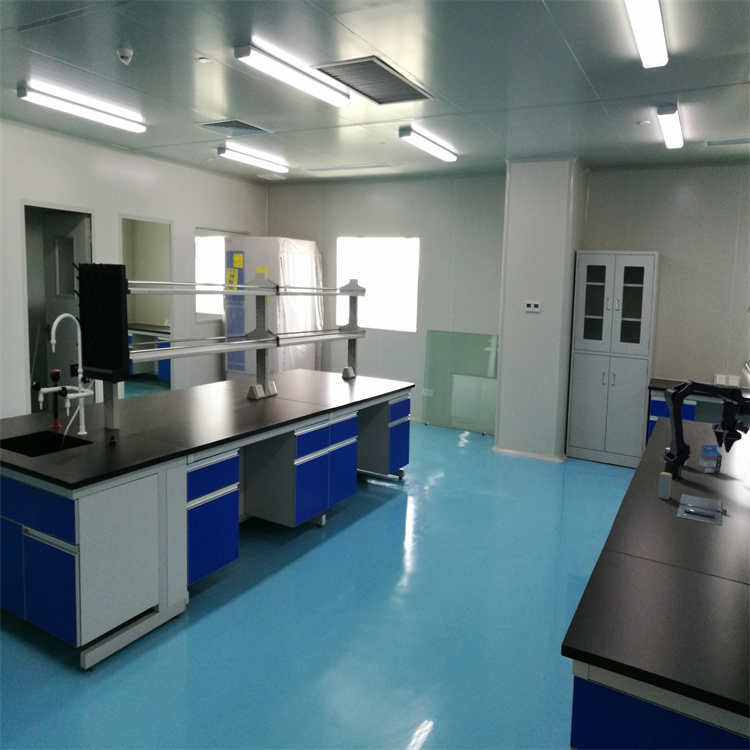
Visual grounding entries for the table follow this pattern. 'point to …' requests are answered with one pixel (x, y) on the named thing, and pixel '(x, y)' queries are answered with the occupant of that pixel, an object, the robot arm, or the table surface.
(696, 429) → the table surface
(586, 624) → the table surface
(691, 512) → the case
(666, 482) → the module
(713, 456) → the label tape cartridge
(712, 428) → the robot arm
